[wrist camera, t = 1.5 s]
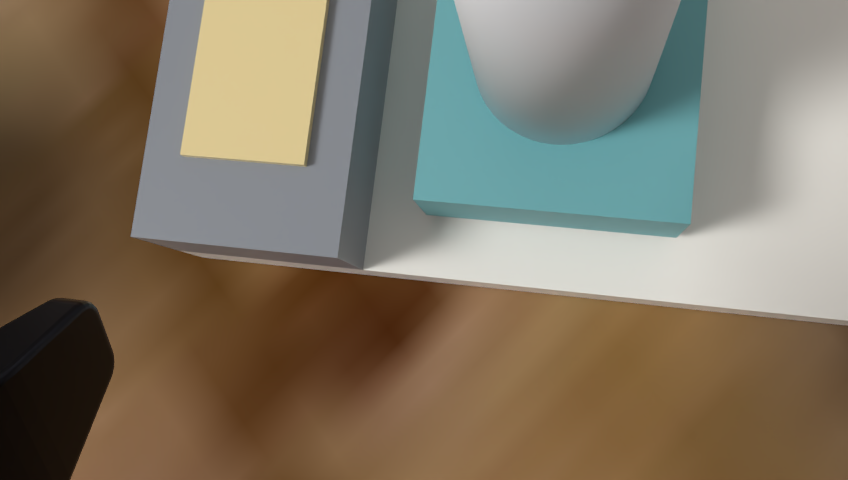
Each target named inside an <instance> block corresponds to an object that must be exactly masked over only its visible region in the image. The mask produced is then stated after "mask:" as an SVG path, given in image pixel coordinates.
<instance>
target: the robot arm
mask: <svg viewBox="0 0 848 480" xmlns="http://www.w3.org/2000/svg"><path fill="white" fill-rule="evenodd" d="M113 369H114V354H113V350H112V348H111V345H110V342H109V340H108V337H107V334H106V331H105V329H104V326H103V323H102V321H101V318H100V315H99V312H98V310H97V308H96V307H95V306H94V305H93V304H92V303H91V302H88V301H83V300H74V299H66V298H55V299H52V300H50V301H47V302H46V303H44V304H42V305H40V306H38V307H37V308H35V309H33V310H31V311H29V312H28V313H26V314H24V315H22V316H20V317H19V318H17V319H15V320H13V321H11V322H10V323H8V324H6V325H4V326H2V327H1V328H0V480H70V479H71V476H72V474H73V471H74V469H75V466H76V464H77V461H78V459H79V456H80V454H81V451H82V449H83V446H84V444H85V441H86V439H87V436H88V434H89V432H90V429H91V427H92V424H93V422H94V419H95V417H96V414H97V412H98V409H99V407H100V404H101V402H102V399H103V397H104V394H105V392H106V389H107V387H108V384H109V382H110V379H111V377H112V374H113Z"/></svg>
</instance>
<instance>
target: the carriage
mask: <svg viewBox="0 0 848 480" xmlns="http://www.w3.org/2000/svg"><path fill="white" fill-rule="evenodd" d="M707 5H708V0H437V5H436V13H435V22H434V30H433V38H432V46H431V55H430V63H429V71H428V79H427V87H426V96H425V104H424V112H423V120H422V129H421V137H420V145H419V153H418V162H417V170H416V178H415V186H414V195H413V200H414V201H415V202H416V204H417V205H418V206H419V207H420V208H421V209H422V210H423V212H424V213H425V214H426V215H432V216H443V217H454V218H465V219H476V220H487V221H498V222H509V223H520V224H531V225H542V226H552V227H563V228H574V229H585V230H596V231H607V232H618V233H629V234H640V235H651V236H662V237H673V238H677V237H678V236H679V235H680V234H681V233H682V232H683V231H684V230H685V229H686V228H687V227H688V226H689V225H690V224H691V213H692V200H693V187H694V174H695V161H696V148H697V135H698V122H699V109H700V96H701V83H702V70H703V57H704V44H705V31H706V18H707Z"/></svg>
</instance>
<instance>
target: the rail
mask: <svg viewBox="0 0 848 480" xmlns="http://www.w3.org/2000/svg"><path fill="white" fill-rule="evenodd" d="M436 5H437V0H170V2H169V8H168V14H167V20H166V26H165V32H164V38H163V44H162V50H161V56H160V62H159V68H158V74H157V80H156V86H155V92H154V98H153V104H152V111H151V117H150V123H149V129H148V135H147V141H146V147H145V153H144V159H143V165H142V171H141V177H140V183H139V189H138V195H137V201H136V207H135V214H134V220H133V226H132V232H131V237H133V238H137V239H140V240H144V241H147V242H151V243H154V244H158V245H161V246H165V247H168V248H172V249H175V250H179V251H182V252H186V253H189V254H193V255H196V256H200V257H203V258H212V259H222V260H231V261H241V262H250V263H259V264H269V265H278V266H288V267H297V268H307V269H316V270H326V271H335V272H345V273H354V274H363V275H373V276H382V277H392V278H401V279H411V280H420V281H430V282H439V283H449V284H458V285H468V286H477V287H486V288H496V289H505V290H515V291H524V292H534V293H543V294H553V295H562V296H572V297H581V298H590V299H600V300H609V301H619V302H628V303H638V304H647V305H657V306H666V307H676V308H685V309H694V310H704V311H713V312H723V313H732V314H742V315H751V316H761V317H770V318H780V319H789V320H798V321H808V322H817V323H827V324H836V325H846V326H848V0H708V5H707V18H706V31H705V44H704V57H703V70H702V83H701V96H700V109H699V122H698V135H697V148H696V161H695V174H694V187H693V200H692V213H691V224H690V225H689V226H688V227H687V228H686V229H685V230H684V231H683V232H682V233H681V234H680V235H679V236H678V237H677V238H673V237H662V236H651V235H640V234H629V233H618V232H607V231H596V230H585V229H574V228H563V227H552V226H542V225H531V224H520V223H509V222H498V221H487V220H476V219H465V218H454V217H443V216H432V215H426V214H425V213H424V212H423V210H422V209H421V208H420V207H419V206H418V205H417V204H416V202H415V201H414V200H413V195H414V186H415V178H416V170H417V162H418V153H419V145H420V137H421V129H422V120H423V112H424V104H425V96H426V87H427V79H428V71H429V63H430V55H431V46H432V38H433V30H434V22H435V13H436Z"/></svg>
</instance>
